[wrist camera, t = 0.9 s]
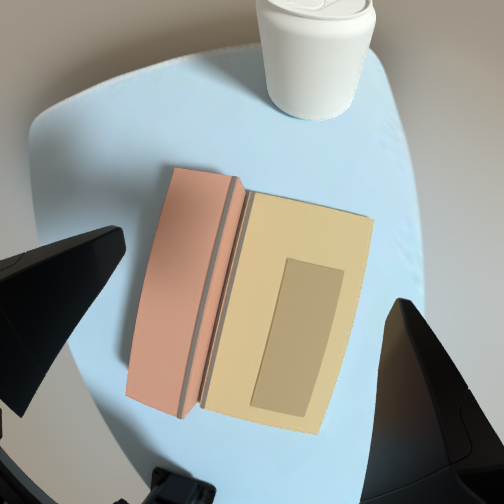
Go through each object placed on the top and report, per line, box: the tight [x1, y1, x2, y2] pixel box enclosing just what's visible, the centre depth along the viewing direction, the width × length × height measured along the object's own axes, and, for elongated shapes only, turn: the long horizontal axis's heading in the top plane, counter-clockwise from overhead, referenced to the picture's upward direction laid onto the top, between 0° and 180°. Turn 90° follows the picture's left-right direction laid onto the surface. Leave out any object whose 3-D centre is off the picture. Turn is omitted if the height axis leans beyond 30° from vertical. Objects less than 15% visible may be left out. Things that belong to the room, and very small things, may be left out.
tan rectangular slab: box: [199, 192, 374, 435], centre depth 21 cm, size 18×10×1 cm, turn 167°
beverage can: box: [256, 0, 376, 121], centre depth 18 cm, size 8×8×12 cm
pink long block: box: [125, 168, 246, 419], centre depth 21 cm, size 18×5×4 cm, turn 167°
